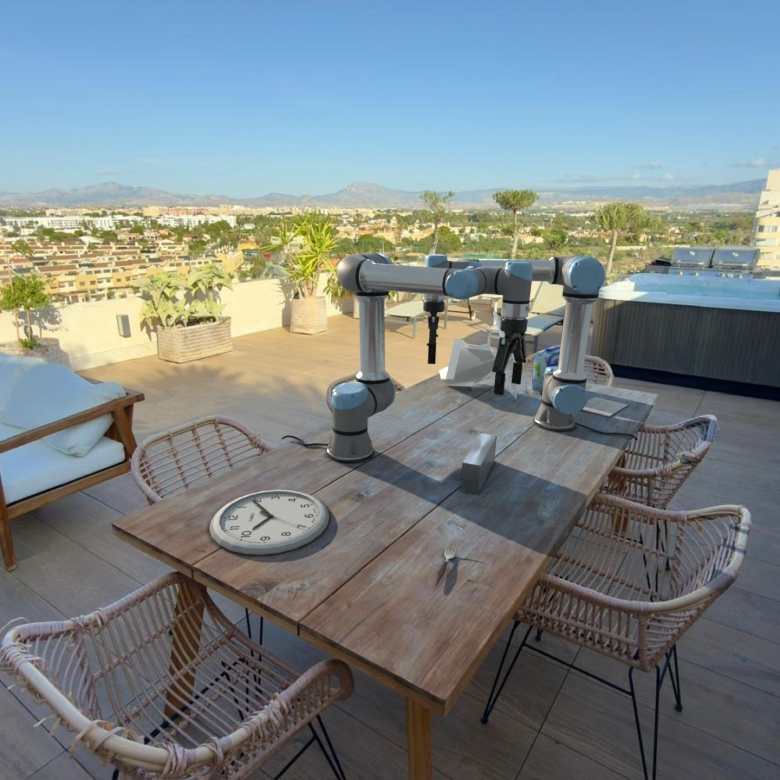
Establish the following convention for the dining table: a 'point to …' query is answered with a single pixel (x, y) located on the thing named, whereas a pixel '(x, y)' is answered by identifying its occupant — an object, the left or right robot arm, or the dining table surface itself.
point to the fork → (448, 555)
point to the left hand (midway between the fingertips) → (507, 389)
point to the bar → (478, 463)
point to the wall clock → (269, 522)
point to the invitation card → (603, 406)
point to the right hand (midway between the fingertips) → (431, 359)
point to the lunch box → (544, 365)
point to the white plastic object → (476, 363)
